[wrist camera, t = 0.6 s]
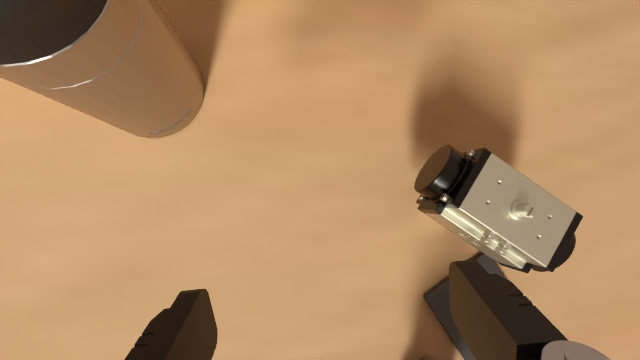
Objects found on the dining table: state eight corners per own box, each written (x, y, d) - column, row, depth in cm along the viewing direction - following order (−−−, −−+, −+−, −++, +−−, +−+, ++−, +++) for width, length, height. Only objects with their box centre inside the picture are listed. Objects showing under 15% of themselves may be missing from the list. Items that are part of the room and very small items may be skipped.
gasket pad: (423, 295, 33) (425, 297, 33) (484, 250, 34) (487, 251, 34) (465, 362, 34) (468, 364, 33) (526, 315, 35) (529, 316, 34)
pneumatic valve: (409, 155, 34) (478, 132, 22) (500, 217, 35) (614, 228, 23) (381, 201, 33) (436, 203, 22) (474, 263, 34) (577, 298, 22)
